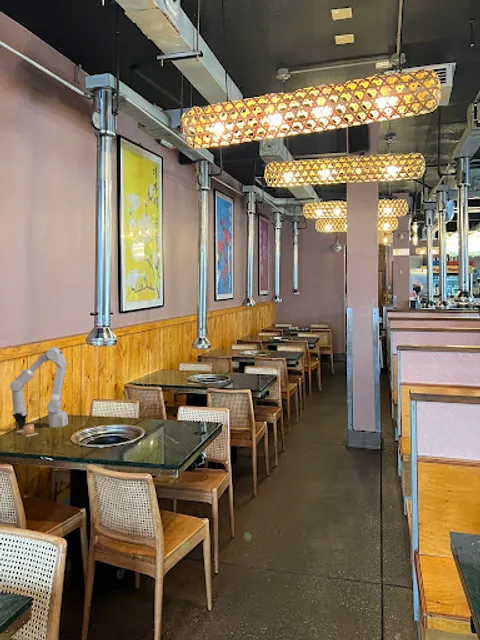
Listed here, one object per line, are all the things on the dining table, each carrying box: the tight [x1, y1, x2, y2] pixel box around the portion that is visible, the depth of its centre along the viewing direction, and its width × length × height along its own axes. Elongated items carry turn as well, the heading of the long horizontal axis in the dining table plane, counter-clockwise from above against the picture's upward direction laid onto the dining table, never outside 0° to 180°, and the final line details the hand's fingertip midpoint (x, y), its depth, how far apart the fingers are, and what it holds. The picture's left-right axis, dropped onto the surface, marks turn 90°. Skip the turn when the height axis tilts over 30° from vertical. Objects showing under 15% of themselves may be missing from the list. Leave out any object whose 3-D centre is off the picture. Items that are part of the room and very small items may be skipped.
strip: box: [14, 419, 39, 438], centre depth 258 cm, size 20×6×6 cm, turn 42°
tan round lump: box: [23, 423, 36, 436], centre depth 254 cm, size 5×5×4 cm
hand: (20, 427), depth 264 cm, fingers closed on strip, 2 cm apart
